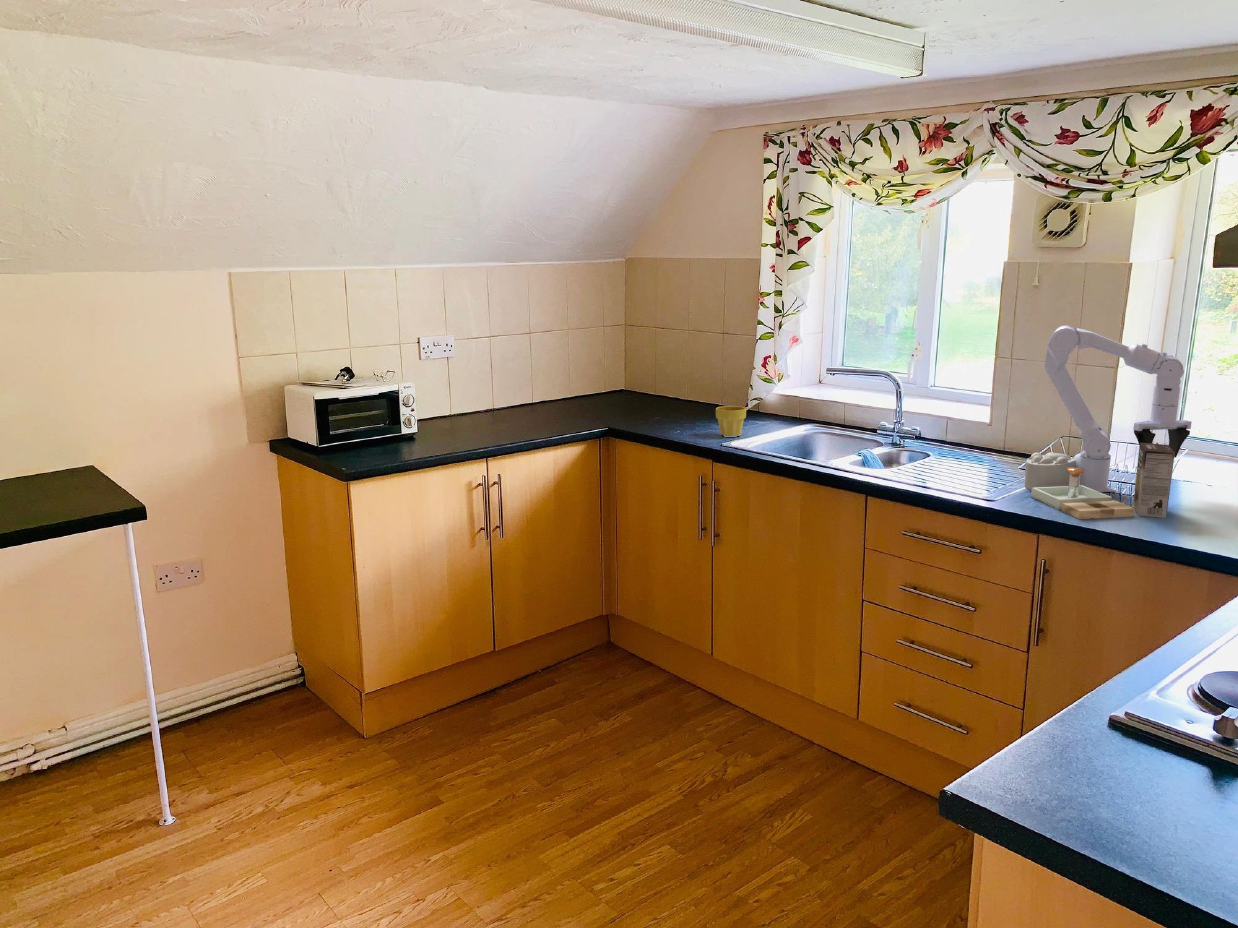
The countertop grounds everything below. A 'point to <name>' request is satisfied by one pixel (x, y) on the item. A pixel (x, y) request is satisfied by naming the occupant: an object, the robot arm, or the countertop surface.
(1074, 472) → the pin
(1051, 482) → the lumpy-topped squat cylinder
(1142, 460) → the coffee box
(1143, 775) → the countertop surface
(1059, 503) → the tray
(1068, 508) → the tan flat rectangular block
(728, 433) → the plant pot
